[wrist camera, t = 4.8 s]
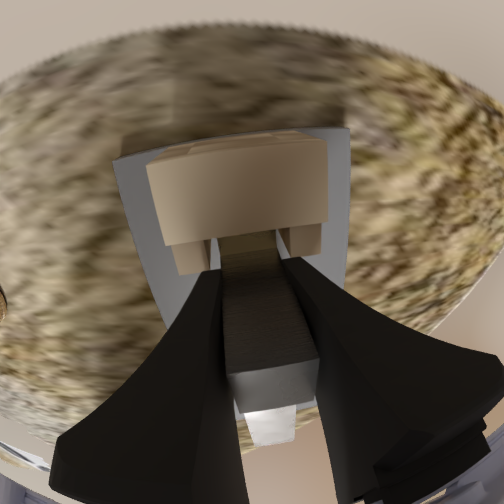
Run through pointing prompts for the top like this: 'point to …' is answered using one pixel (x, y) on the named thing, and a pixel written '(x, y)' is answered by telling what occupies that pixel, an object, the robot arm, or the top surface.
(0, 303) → the sprinkles bottle
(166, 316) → the base board
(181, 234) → the socket block
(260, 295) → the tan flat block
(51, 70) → the top surface
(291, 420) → the outer sleeve
